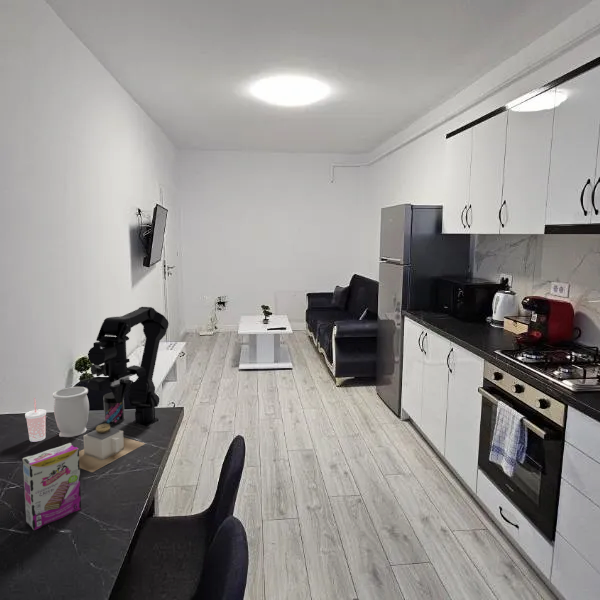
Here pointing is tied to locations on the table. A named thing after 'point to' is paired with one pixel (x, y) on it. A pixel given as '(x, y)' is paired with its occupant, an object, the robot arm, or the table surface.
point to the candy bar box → (51, 485)
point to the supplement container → (113, 409)
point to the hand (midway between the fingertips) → (119, 402)
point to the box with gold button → (103, 443)
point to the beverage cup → (36, 424)
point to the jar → (71, 410)
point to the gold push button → (102, 428)
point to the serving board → (95, 464)
